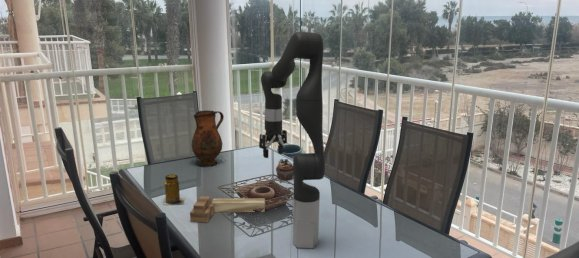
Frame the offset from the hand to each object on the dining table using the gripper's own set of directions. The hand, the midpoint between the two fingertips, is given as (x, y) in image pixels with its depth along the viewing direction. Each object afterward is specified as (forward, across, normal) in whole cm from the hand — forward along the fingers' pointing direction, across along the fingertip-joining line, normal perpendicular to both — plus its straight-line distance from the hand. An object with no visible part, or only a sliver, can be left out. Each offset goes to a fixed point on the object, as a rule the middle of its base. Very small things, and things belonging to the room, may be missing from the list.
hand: (273, 155), depth 184 cm
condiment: (+22, -30, +32) cm, 49 cm away
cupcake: (+22, +27, +19) cm, 40 cm away
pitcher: (+22, +14, +66) cm, 71 cm away
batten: (+22, -15, +5) cm, 27 cm away
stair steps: (+22, -30, +10) cm, 39 cm away
